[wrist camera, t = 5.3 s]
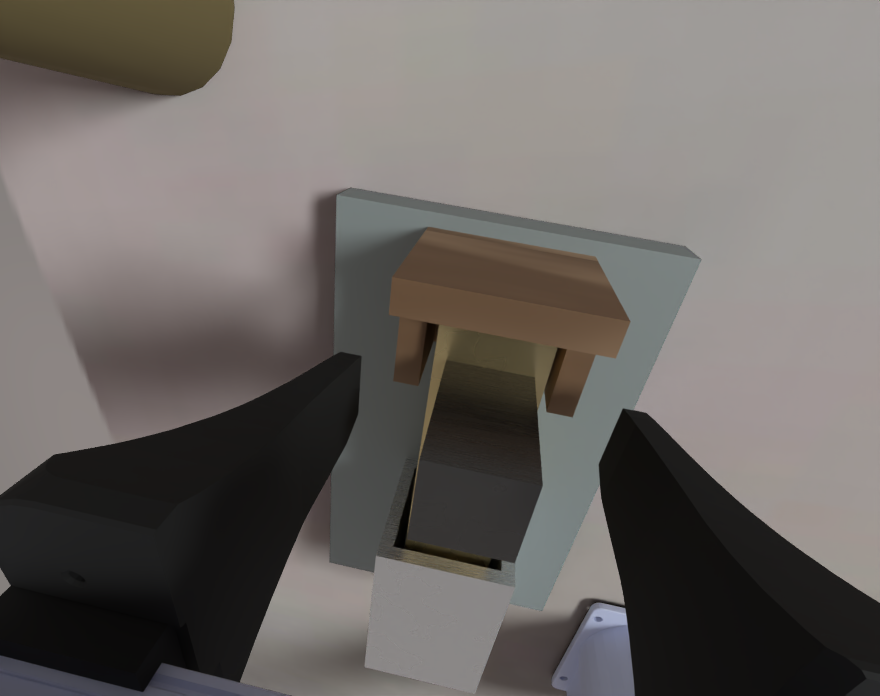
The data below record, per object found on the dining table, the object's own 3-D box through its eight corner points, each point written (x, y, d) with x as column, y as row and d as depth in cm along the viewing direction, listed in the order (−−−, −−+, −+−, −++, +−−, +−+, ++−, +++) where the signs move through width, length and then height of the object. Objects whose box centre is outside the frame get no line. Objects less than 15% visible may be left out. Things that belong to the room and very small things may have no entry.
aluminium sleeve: (482, 585, 24) (474, 693, 19) (391, 565, 24) (364, 667, 20) (515, 481, 20) (515, 587, 15) (406, 457, 20) (375, 555, 16)
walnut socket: (562, 359, 16) (578, 451, 12) (415, 330, 17) (380, 410, 12) (595, 256, 14) (630, 321, 10) (428, 226, 15) (392, 276, 10)
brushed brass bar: (483, 529, 20) (469, 720, 14) (415, 514, 20) (371, 696, 14) (553, 287, 14) (583, 431, 8) (455, 270, 14) (409, 396, 8)
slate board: (540, 585, 25) (542, 611, 24) (338, 539, 26) (329, 562, 25) (685, 246, 15) (701, 259, 14) (350, 187, 16) (336, 195, 15)
